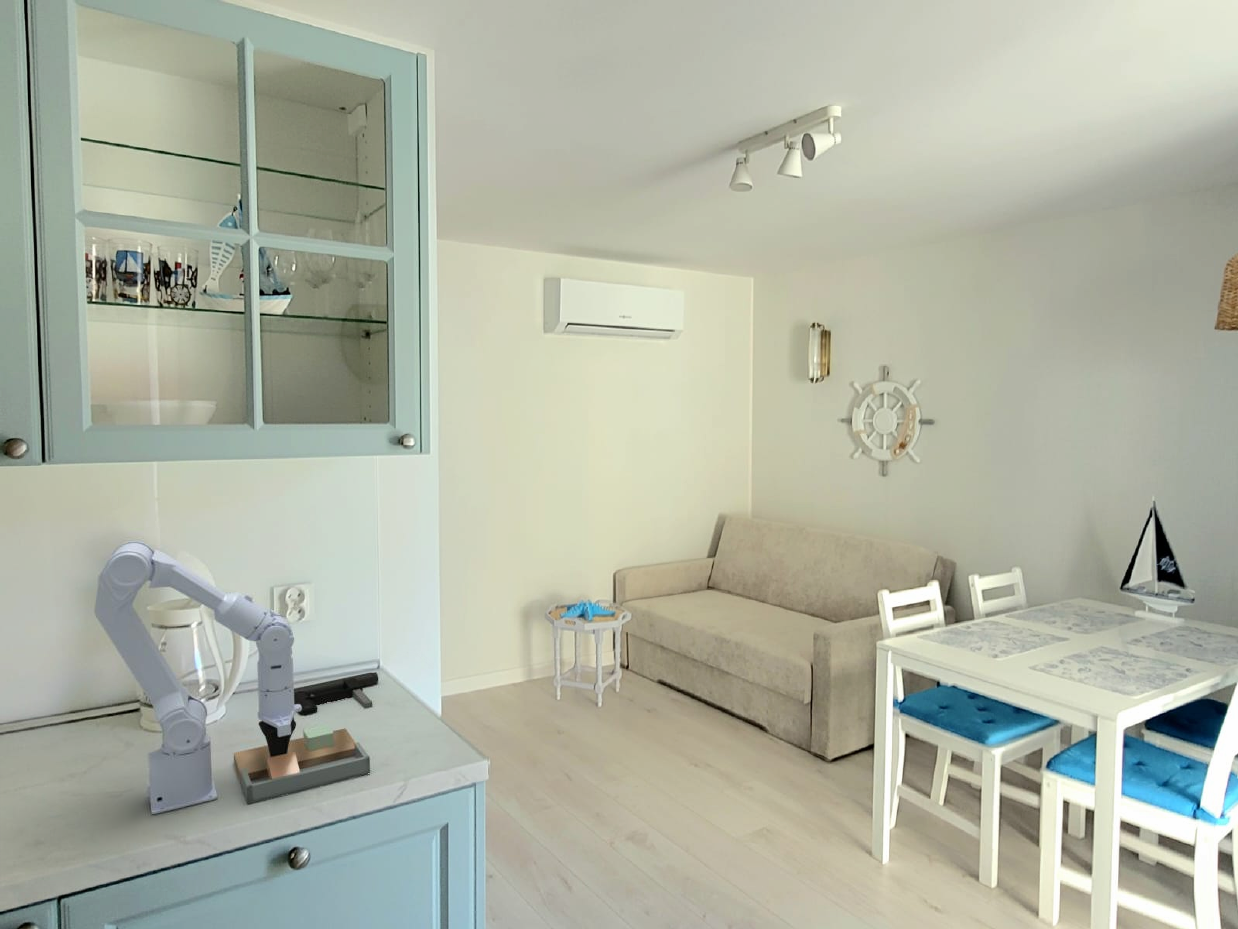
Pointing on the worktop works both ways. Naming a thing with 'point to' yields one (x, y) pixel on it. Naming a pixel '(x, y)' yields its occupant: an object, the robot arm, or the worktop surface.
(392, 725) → the worktop surface
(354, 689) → the door handle
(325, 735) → the sage tile
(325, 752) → the walnut board
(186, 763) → the robot arm
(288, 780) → the tray
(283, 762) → the terracotta tile
